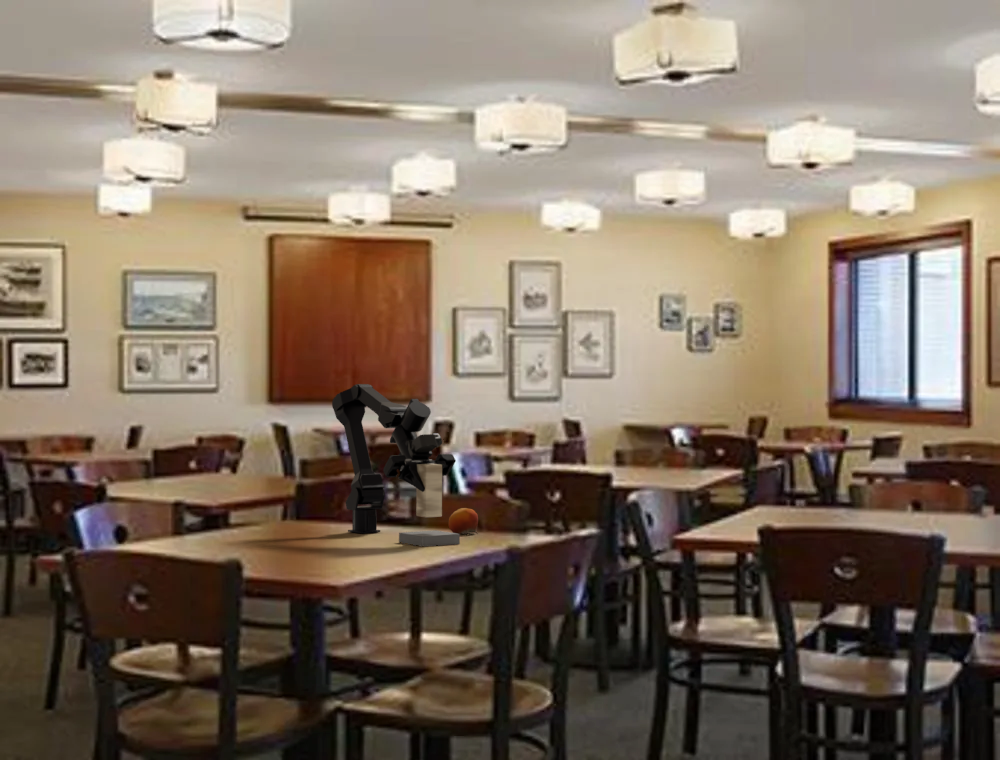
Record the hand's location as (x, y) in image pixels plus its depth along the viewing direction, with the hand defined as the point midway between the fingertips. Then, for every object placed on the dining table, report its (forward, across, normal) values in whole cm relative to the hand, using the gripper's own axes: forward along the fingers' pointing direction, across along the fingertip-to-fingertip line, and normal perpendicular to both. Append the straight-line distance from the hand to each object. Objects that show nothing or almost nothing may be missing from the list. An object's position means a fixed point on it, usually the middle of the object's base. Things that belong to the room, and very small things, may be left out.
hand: (432, 490), depth 354 cm
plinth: (+8, 0, +10) cm, 13 cm away
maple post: (+4, 0, +6) cm, 7 cm away
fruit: (-2, +21, +22) cm, 30 cm away
